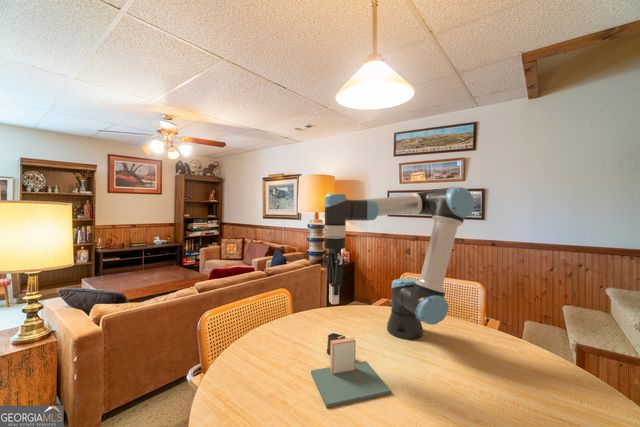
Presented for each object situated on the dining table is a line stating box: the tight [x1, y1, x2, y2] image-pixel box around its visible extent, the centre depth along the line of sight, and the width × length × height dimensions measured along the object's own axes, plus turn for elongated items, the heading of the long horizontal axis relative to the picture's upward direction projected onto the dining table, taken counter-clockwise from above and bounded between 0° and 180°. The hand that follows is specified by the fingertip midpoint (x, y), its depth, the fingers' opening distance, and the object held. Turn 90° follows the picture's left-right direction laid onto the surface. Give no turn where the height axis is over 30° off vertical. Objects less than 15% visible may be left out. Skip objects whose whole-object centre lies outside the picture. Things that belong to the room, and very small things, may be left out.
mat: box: [310, 360, 392, 409], centre depth 84 cm, size 20×16×1 cm
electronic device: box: [326, 332, 346, 355], centre depth 100 cm, size 4×10×8 cm, turn 46°
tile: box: [329, 337, 357, 374], centre depth 89 cm, size 8×2×10 cm, turn 107°
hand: (334, 302), depth 97 cm, fingers closed
